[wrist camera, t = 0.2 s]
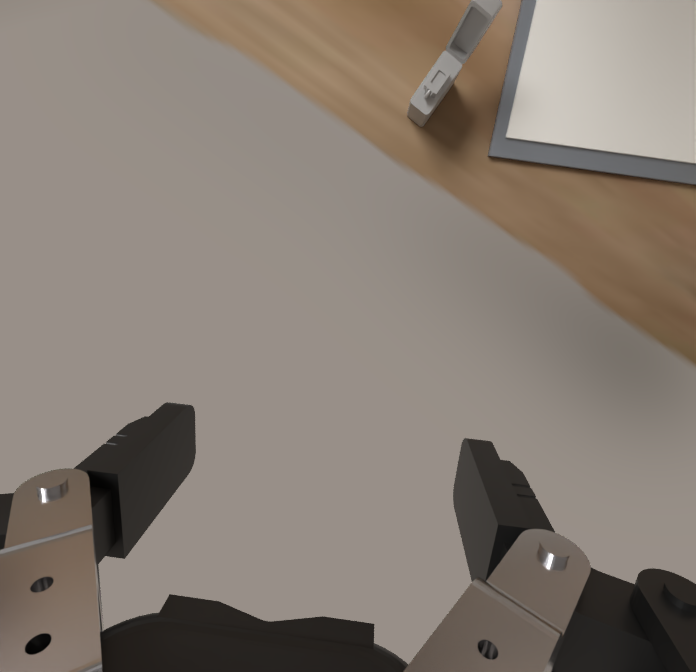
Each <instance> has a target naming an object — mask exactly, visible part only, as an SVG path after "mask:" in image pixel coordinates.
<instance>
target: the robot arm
mask: <svg viewBox="0 0 696 672" xmlns="http://www.w3.org/2000/svg"><path fill="white" fill-rule="evenodd" d="M195 453H196V445H195V411H194V408H193V406H191V405H185V404H176V403H165V404H163V405H162V406H161V407H160V408H159V409H157V410H156V411H155V412H154V413H153V414H152V415H150V416H149V417H143V418H141V419H138V420H136V421H134V422H132V423H130V424H128V425H126V426H125V427H124V428H123V429H122V430H120V431H119V432H118V433H117V434H116V436H113V437H112V438H111V439H109V440H108V441H107V443H106V444H103V445H102V446H101V447H99V448H98V449H97V450H96V451H95V452H93V453H92V454H91V455H90V456H89V457H87V458H86V459H85V460H84V461H83V462H81V463H80V464H79V465H77V466H76V467H75V468H74V469H57V470H52V471H48V472H45V473H42V474H39V475H37V476H34V477H32V478H30V479H29V480H27V481H25V482H24V483H23V484H21V485H20V486H19V487H18V488H17V489H16V491H15V492H14V493H10V494H0V672H696V584H694V583H693V582H691V581H689V580H688V579H686V578H684V577H681V576H679V575H677V574H675V573H672V572H669V571H665V570H661V569H646V570H643V571H641V572H640V573H639V574H638V577H637V580H636V583H635V584H632V583H629V582H627V581H623V580H621V579H618V578H616V577H612V576H610V575H607V574H605V573H602V572H599V571H597V570H595V569H593V568H591V566H590V562H589V560H588V558H587V556H586V555H585V554H584V552H583V551H582V550H581V549H580V548H579V547H578V546H577V545H576V544H574V543H573V542H572V541H570V540H569V539H567V538H565V537H563V536H561V535H559V534H557V533H555V531H554V529H553V528H552V526H551V524H550V522H549V520H548V518H547V516H546V515H545V513H544V511H543V509H542V507H541V505H540V504H539V502H538V500H537V499H536V498H535V497H536V496H535V494H534V492H533V491H532V489H531V488H530V485H529V483H528V481H527V480H526V477H525V476H524V474H523V472H521V471H520V470H519V469H518V468H517V467H516V466H515V465H514V464H512V463H511V462H510V461H504V460H500V458H499V456H498V454H497V452H496V450H495V448H494V445H493V443H492V442H490V441H483V440H475V439H466V438H465V439H464V440H463V442H462V446H461V451H460V456H459V461H458V467H457V472H456V478H455V484H454V492H453V500H454V509H455V512H456V517H457V521H458V525H459V529H460V534H461V538H462V542H463V546H464V550H465V555H466V559H467V563H468V567H469V571H470V575H471V580H472V583H471V584H470V586H469V587H468V588H467V589H466V591H465V592H464V593H463V595H462V596H461V597H460V599H459V600H458V601H457V603H456V604H455V605H454V606H453V608H452V609H451V610H450V611H449V613H448V614H447V615H446V617H445V618H444V619H443V621H442V622H441V623H440V624H439V626H438V627H437V628H436V630H435V631H434V632H433V634H432V635H431V636H430V637H429V639H428V640H427V641H426V643H425V644H424V645H423V647H422V648H421V649H420V651H419V652H418V653H417V654H416V656H415V657H414V658H413V660H412V661H411V662H410V664H409V665H408V664H407V663H406V662H405V661H403V660H402V659H401V658H399V657H398V656H397V655H395V654H394V653H392V652H390V651H388V650H387V649H385V648H383V647H381V646H379V645H377V644H374V624H371V623H364V622H357V621H350V620H343V619H336V618H329V617H315V618H304V619H294V620H284V621H274V622H268V621H263V620H260V619H258V618H256V617H254V616H251V615H249V614H247V613H244V612H242V611H240V610H237V609H235V608H233V607H230V606H228V605H226V604H223V603H221V602H219V601H212V600H205V599H198V598H191V597H184V596H177V595H169V597H168V599H167V600H166V602H165V604H164V606H163V607H162V609H161V611H160V613H152V614H148V615H144V616H139V617H136V618H132V619H129V620H126V621H124V622H121V623H119V624H117V625H114V626H112V627H110V628H108V629H106V630H104V627H103V615H102V603H101V590H100V578H99V568H98V564H99V562H100V561H101V560H102V559H103V558H104V557H105V556H110V557H117V558H124V559H125V557H126V556H127V555H128V554H129V552H130V551H131V549H132V548H133V547H134V545H135V544H136V543H137V542H138V540H139V539H140V538H141V536H142V535H143V534H144V532H145V531H146V530H147V528H148V527H149V526H150V524H151V523H152V522H153V520H154V519H155V518H156V516H157V515H158V514H159V512H160V511H161V510H162V509H163V507H164V506H165V505H166V503H167V502H168V501H169V499H170V498H171V497H172V495H173V494H174V493H175V491H176V490H177V489H178V487H179V486H180V485H181V483H182V482H183V481H184V479H185V478H186V477H187V475H188V474H189V473H190V471H191V469H192V466H193V464H194V459H195Z"/></svg>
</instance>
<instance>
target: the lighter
mask: <svg viewBox="0 0 696 672" xmlns="http://www.w3.org/2000/svg"><path fill="white" fill-rule="evenodd" d="M501 7H502V1H500V0H471V2H470V4H469V6H468V7H467V9H466V11H465V13H464V15H463V17H462V18H461V20H460V22H459V24H458V26H457V28H456V30H455V31H454V33H453V35H452V37H451V39H450V41H449V43H448V44H447V46H446V51H443V53H442V54H441V56H440V57H439V59H438V60H437V61H436V63H435V64H434V66H433V67H432V69H431V70H430V72H429V73H428V75H427V76H426V77H425V79H424V80H423V82H422V83H421V85H420V86H419V88H418V89H417V91H416V92H415V93H414V95H413V96H412V98H411V99H410V103H409V108H408V112H407V116H408V117H409V118H410V119H411V120H413V121H414V122H415V123H416V124H418V125H419V126H420V127H422V126H424V125H425V123H426V122H427V120H428V119H429V118H430V116H431V115H432V113H433V112H434V111H435V109H436V108H437V106H438V105H439V104H440V102H441V101H442V99H443V98H444V96H445V95H446V94H447V92H448V91H449V89H450V88H451V87H452V85H453V83H454V81H455V80H456V78H457V76H458V74H459V72H460V70H461V68H462V63H465V62H466V61H467V59H468V58H469V57H470V55H471V54H472V53H473V51H474V50H475V48H476V47H477V45H478V44H479V42H480V40H481V39H482V37H483V36H484V34H485V32H486V31H487V29H488V28H489V26H490V25H491V23H492V21H493V20H494V18H495V17H496V15H497V13H498V12H499V10H500V9H501Z"/></svg>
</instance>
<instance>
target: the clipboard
mask: <svg viewBox="0 0 696 672" xmlns="http://www.w3.org/2000/svg"><path fill="white" fill-rule="evenodd" d="M488 156H490V157H497V158H504V159H511V160H518V161H525V162H533V163H540V164H547V165H554V166H561V167H568V168H576V169H583V170H590V171H597V172H604V173H611V174H618V175H626V176H633V177H640V178H647V179H654V180H661V181H669V182H676V183H683V184H690V185H696V0H522V1H521V6H520V10H519V15H518V20H517V24H516V29H515V33H514V38H513V42H512V47H511V52H510V56H509V61H508V65H507V70H506V75H505V79H504V84H503V88H502V93H501V98H500V102H499V107H498V111H497V116H496V120H495V125H494V130H493V134H492V139H491V143H490V148H489V153H488Z"/></svg>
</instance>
